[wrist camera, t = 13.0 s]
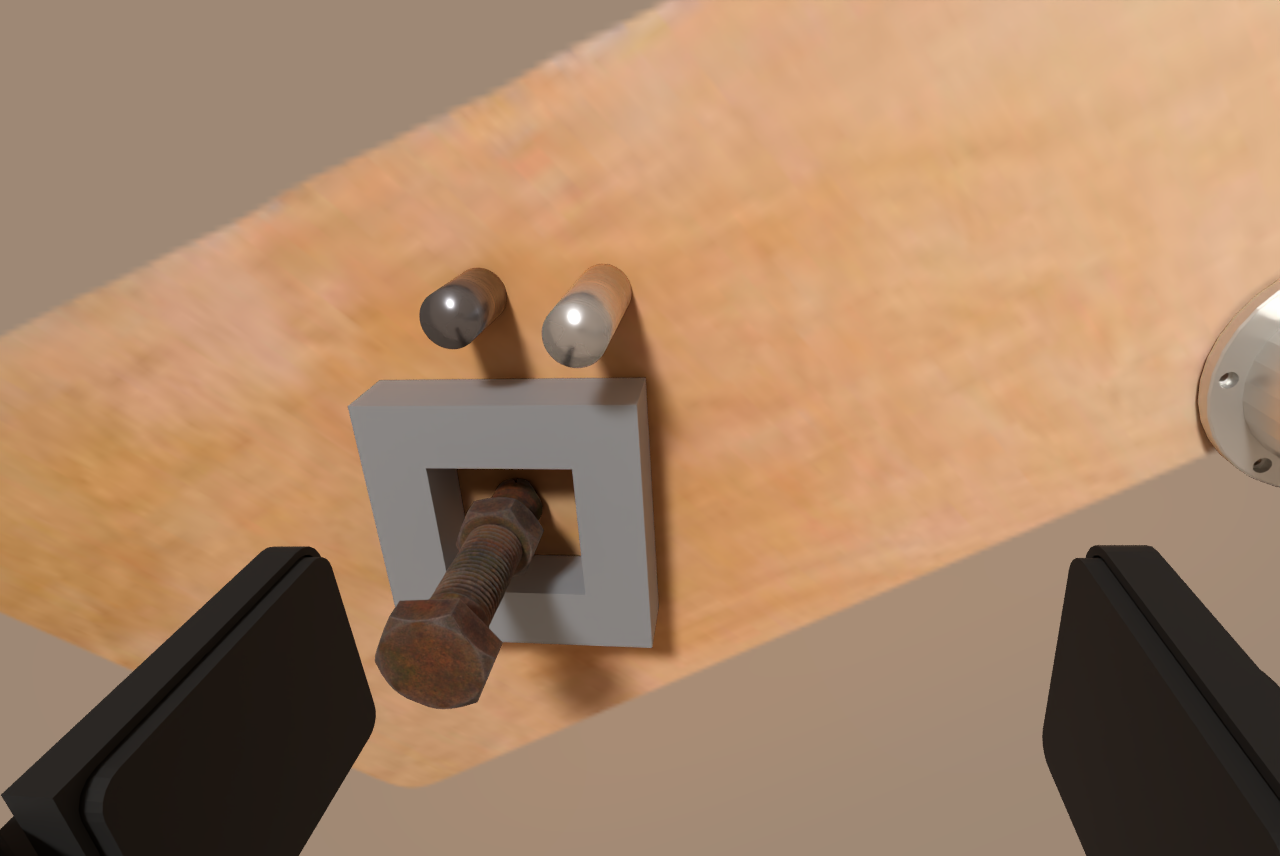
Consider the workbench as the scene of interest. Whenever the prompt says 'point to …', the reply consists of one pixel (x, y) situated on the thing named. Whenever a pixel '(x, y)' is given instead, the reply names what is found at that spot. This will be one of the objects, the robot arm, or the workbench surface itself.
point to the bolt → (463, 604)
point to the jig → (519, 439)
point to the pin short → (463, 308)
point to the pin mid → (587, 316)
